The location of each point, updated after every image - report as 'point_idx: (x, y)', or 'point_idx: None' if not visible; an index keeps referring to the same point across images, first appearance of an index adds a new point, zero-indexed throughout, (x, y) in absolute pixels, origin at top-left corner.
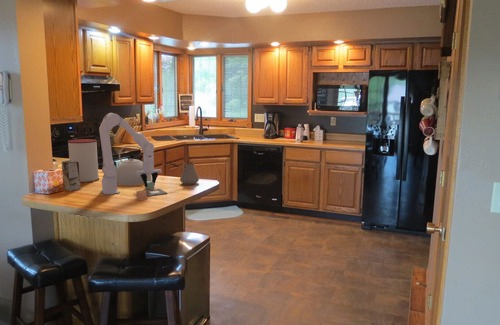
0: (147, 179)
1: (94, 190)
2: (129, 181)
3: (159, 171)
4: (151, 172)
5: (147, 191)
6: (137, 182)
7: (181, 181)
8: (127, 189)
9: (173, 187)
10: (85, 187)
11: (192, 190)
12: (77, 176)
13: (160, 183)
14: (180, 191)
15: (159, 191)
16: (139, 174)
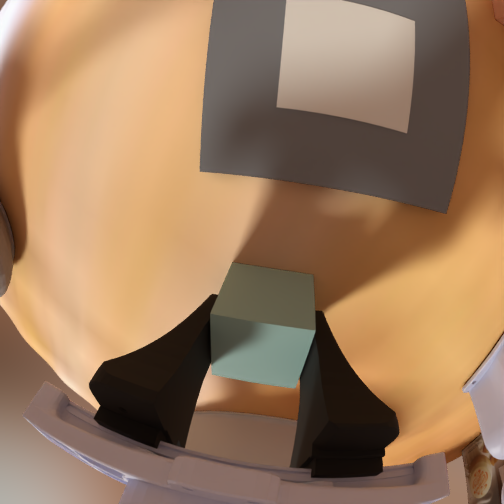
0: (197, 430)
1: None
2: None
3: (62, 413)
4: (232, 473)
5: (404, 147)
6: (279, 431)
7: (2, 241)
8: (421, 367)
9: (64, 186)
10: (458, 441)
11: (21, 24)
12: (501, 466)
13: None
14: (79, 7)
15: (273, 35)
16: (405, 469)
